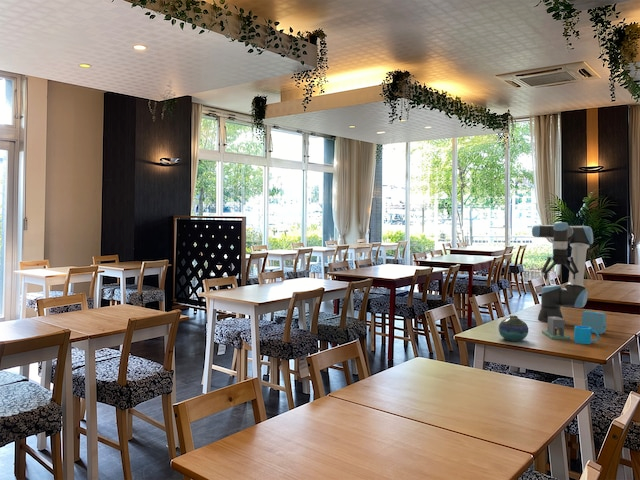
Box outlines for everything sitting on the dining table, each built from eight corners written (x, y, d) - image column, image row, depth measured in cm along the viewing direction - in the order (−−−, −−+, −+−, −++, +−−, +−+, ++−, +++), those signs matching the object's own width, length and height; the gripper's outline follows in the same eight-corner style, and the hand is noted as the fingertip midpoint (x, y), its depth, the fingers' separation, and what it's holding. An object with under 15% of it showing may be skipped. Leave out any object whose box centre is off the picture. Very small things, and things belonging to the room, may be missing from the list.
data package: (605, 333, 290) (606, 313, 290) (603, 334, 287) (603, 314, 287) (584, 330, 299) (584, 310, 299) (581, 331, 296) (581, 311, 296)
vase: (525, 344, 262) (526, 319, 262) (495, 340, 270) (495, 316, 270) (530, 339, 275) (530, 315, 275) (501, 335, 283) (502, 312, 283)
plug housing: (547, 331, 288) (547, 316, 287) (558, 332, 287) (558, 316, 287) (553, 335, 279) (553, 319, 278) (564, 335, 278) (564, 319, 278)
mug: (572, 342, 269) (573, 327, 268) (575, 339, 275) (576, 324, 275) (597, 345, 261) (598, 330, 261) (600, 343, 268) (600, 328, 267)
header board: (541, 332, 291) (541, 325, 291) (559, 333, 290) (559, 325, 290) (551, 339, 276) (551, 331, 275) (570, 339, 274) (570, 332, 274)
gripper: (540, 249, 287) (539, 285, 289) (585, 249, 285) (584, 285, 286) (536, 248, 295) (535, 283, 296) (580, 248, 292) (579, 284, 293)
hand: (559, 284), depth 291 cm, fingers open, 13 cm apart
